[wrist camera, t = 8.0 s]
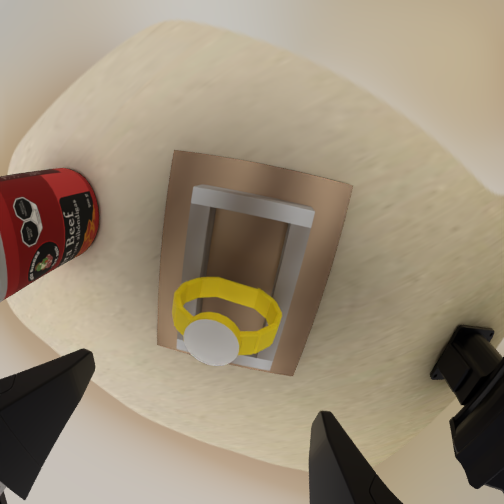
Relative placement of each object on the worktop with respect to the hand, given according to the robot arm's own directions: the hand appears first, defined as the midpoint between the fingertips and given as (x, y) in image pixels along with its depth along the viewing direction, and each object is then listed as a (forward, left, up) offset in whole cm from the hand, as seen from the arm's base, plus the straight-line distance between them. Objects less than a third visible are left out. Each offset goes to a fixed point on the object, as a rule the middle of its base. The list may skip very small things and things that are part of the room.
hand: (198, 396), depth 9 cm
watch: (0, 0, -10) cm, 10 cm away
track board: (0, 0, -12) cm, 12 cm away
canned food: (+16, -2, -12) cm, 20 cm away
